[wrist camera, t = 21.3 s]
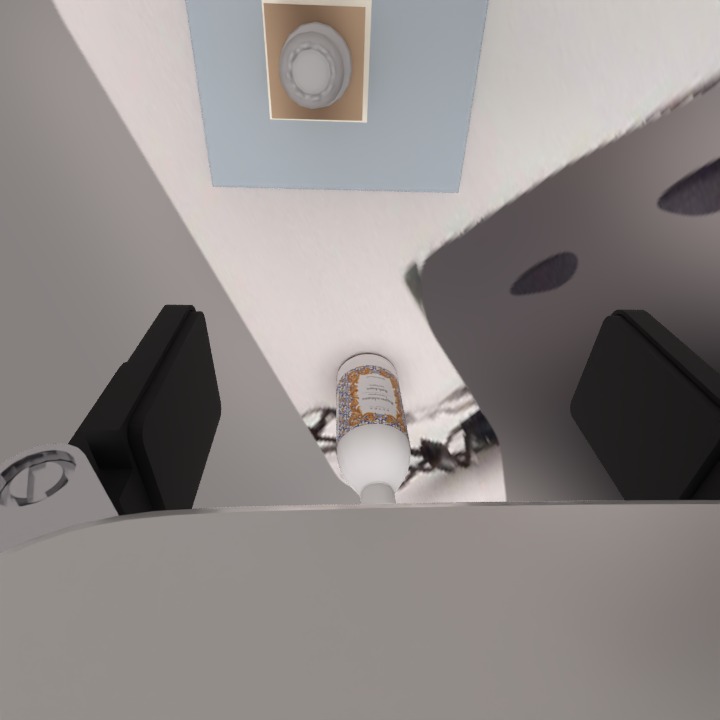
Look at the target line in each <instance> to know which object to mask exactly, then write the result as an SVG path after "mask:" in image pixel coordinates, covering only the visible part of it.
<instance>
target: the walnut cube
mask: <svg viewBox="0 0 720 720" xmlns="http://www.w3.org/2000/svg"><path fill="white" fill-rule="evenodd" d="M263 4H264V17H265V31H266V44H267V57H268V71H269V84H270V98H271V111H272V118H275V119H312V120H350V121H362V114H363V78H364V43H365V8H366V7H350V6H325V5H300V4H275V3H263ZM312 22H319V23H322V24H325V25H329V26H331V27H332V28H333V29H334V30H335V31H337V32H338V33H339V34H340V35H341V36H342V37H343V39H344V41H345V43H346V44H347V46H348V48H349V50H350V54H351V61H352V68H353V69H352V74H351V79H350V84H349V86H348V88H347V89H346V91H345V93H344V94H343V96H342V97H341V98H340V99H339V100H337V101H336V102H334V103H333V104H332V105H330V106H326V107H322V108H316V109H310V108H306V107H302V106H300V105H298V104H297V103H296V102H294V101H293V100H292V99H291V98H289V96H288V94H287V93H286V91H285V89H284V88H283V86H282V83H281V79H280V74H279V63H280V55H281V52H282V48H283V46H284V44H285V42H286V40H287V38H288V36H289V34H290V33H292V32H293V31H294V30H295V29H297V28H298V27H299V26H300V25H302V24H307V23H312Z"/></svg>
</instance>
